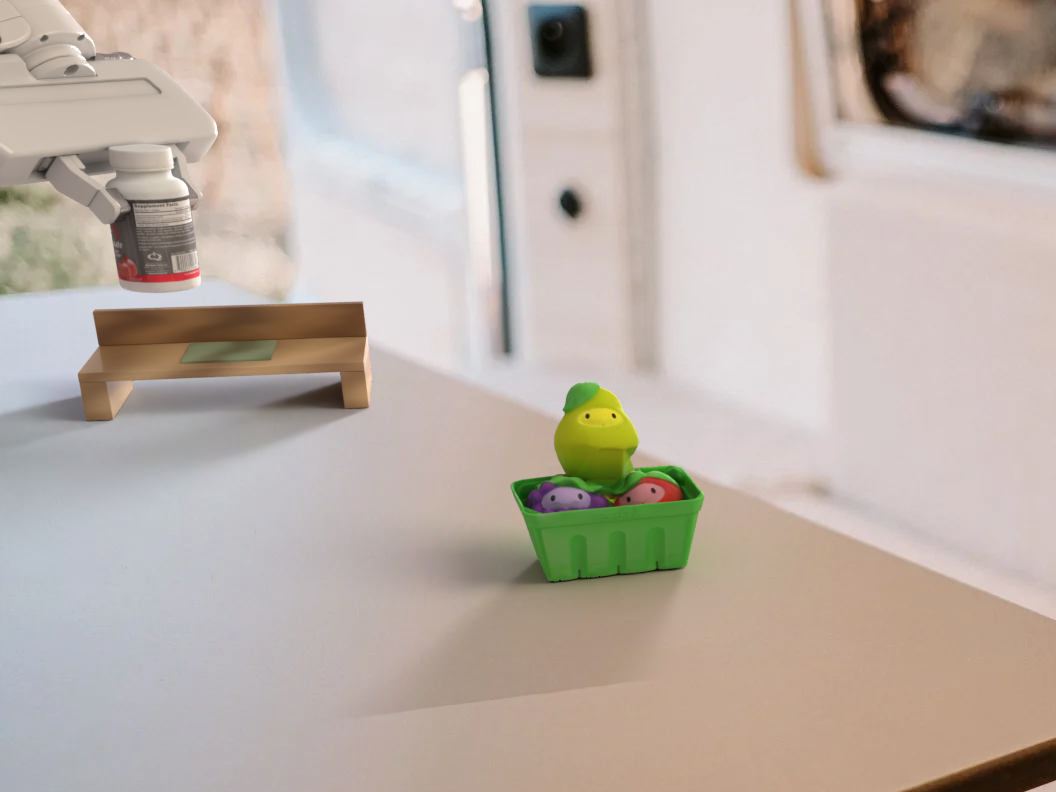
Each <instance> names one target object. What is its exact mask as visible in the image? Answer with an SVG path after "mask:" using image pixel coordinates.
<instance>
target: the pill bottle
mask: <svg viewBox="0 0 1056 792" xmlns="http://www.w3.org/2000/svg"><path fill="white" fill-rule="evenodd" d="M108 153H109V160H110V165H111V166H112V169H113V170H116V173H115V177H113V178H112V179H110V180H108V181H107V182H106V183H105V185H104V187H105V188H106V189H110V188H117V190H118V191H119V192H120V193H121V194H122V196H123V198H124V199H125V200H127V201H128V202H129V204H130V206H131V212H130V213H129V214H128V215H127V216H126V219H125V220H124V221H123V222H117V223H111V224H109V228H110V235H111V241H112V246H113V253H114V260H115V264H116V265H115V266H116V271H117V272H116V273H117V276H118V283H119V285H120V287H121V288H122V289H123V290H126V291H129V292H134V293H142V294H143V293H145V294H167V293H169V294H170V293H176V292H184V291H188V290H189V291H190V290H193V289H195V288H198V287H199V286H200V285H201V283H202V278H201V277H202V276H201V269H200V263H199V256H198V250H197V248H198V247H197V242H196V235H195V229H194V221H193V211H191V205H190V199H189V192H188V188H187V186H186V184H185V183H184V182H183V181H182V180H180V179H178V178H175V177H173V176H172V173H171V169H173V168H174V166H173V164H174V162H173V158H172V152H171V148H170V147H168V146H163V145H151V144H131V145H121V146H113V147H109V148H108Z"/></svg>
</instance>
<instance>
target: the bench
mask: <svg viewBox="0 0 1056 792" xmlns="http://www.w3.org/2000/svg"><path fill="white" fill-rule="evenodd" d="M92 317H93V322H94V327H95V332H96V338H97V344H98V347H97V348H96V349H95V351H93V353H92V354H91V356H90V357H89V358H88V360H87V361H86V362H85V363H84V365H83V366H82V367H81V369H80V370H79V371H78V372H77V378H78V383H79V388H80V394H81V400H82V404H83V410H84V415H85V420H86V422H93V421H95V422H96V421H113V420H114V419H115V417H116V416H117V414H118V413H119V411H120V409H121V408H122V406H123V405H124V403H125V401H126V400H127V398H128V397H129V396H130V394H131V392H132V390H133V389H134V382H135V381H156V380H178V379H179V380H180V379H205V378H227V377H252V376H253V377H254V376H279V375H298V374H299V375H300V374H301V375H303V374H324V373H325V374H326V373H339V375H340V383H341V391H342V399H343V406H344V409H365V408H367V409H368V408H370V403H371V402H370V401H371V393H370V392H371V391H372V383H371V381H372V382H373V372H372V364H371V354H370V347H369V339H368V337H369V336H368V329H367V322H366V321H367V320H366V313H365V304H364V301H362V300H361V301H334V302H300V303H299V302H298V303H295V302H294V303H267V304H264V303H263V304H234V305H233V304H231V305H230V304H229V305H202V306H201V305H198V306H196V305H195V306H166V307H165V306H163V307H133V308H132V307H129V308H102V309H101V308H99V309H94V310H93V311H92ZM133 381H134V382H133Z"/></svg>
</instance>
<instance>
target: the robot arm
mask: <svg viewBox="0 0 1056 792" xmlns="http://www.w3.org/2000/svg"><path fill="white" fill-rule="evenodd" d="M217 138H218V127H217V122H216V121H215V120H214V118H213V116H212V115H211V114H210V113H208V111H207V110H206V109H205V108H204V107H203V106H202V105H201V103H199V102H198V101H197V100H196V99H195V98H194V97H193V95H192V94H190V93H189V92H188V91H187V90H186V89H185V88H184V87H183V86H182V85H181V84H180V83H179V82H178V81H177V80H176V79H175V78H174V77H173V76H172V75H170V74H169V73H168V72H167V71H165V69H163V68H161V67H160V66H159V65H157V64H155V63H154V62H151V61H149V60H146V59H141V58H135V57H132V55H131V54H130V53H128V52H125V51H114V52H111V53H103V52H102V53H101V52H97V49H96V45H95V42H94V41H93V39H92V37H90V36H89V34H88V33H87V32H86V30H84V29H83V27H82V26H81V25H80V23H79V22H77V21H76V19H75V18H74V17H73V16H72V15H71V13H70V12H69V11H68V10H67V8H65V6H64V4H62V3H61V2H60V0H0V188H6V187H13V186H20V185H30V184H37V183H45V182H49V183H50V184H51V185H52V186H53V188H54V189H55V190H56V191H57V192H58V193H61V194H62V195H63V196H65V197H68V198H70V199H71V200H73V201H75V202H76V203H78V204H80V205H82V206H84V207H86V208H88V209H89V210H90V211H91V212H92V213H93V215H95V217H96V218H97V219H98V220H99V221H100V223H101V224H103V225H110V224H111V223H117V222H123V221H124V220H125V219H126V216H127V215H128V214H129V213H130V212H131V206H130V204H129V202H128V201H127V200H125V199H124V198H123V196H122V194H121V193H120V192H119V191H118V190H117V188H110V189H106V188H105V185H103V184H102V183H100V182H99V181H97V180H96V179H94V178H93V177H92V176H100V175H109V174H116V170H113V169H112V166H111V165H110V160H109V153H108V148H109V147H113V146H121V145H131V144H151V145H163V146H168V147H170V148H171V152H172V158H173V162H174V164H173V166H174V168H173V169H171V173H172V176H173V177H175V178H178V179H180V180H182V181H183V182H184V183H185V184H186V186H187V188H188V192H189V199H190V205H191V212H193V211H196V210H197V209H198V208H199V206H200V205H201V203H202V202H203V200H204V195H203V194H202V191H201V190H200V189H199V187H197V185H196V184H195V183H194V182H193V181H192V180H191V176H190V172H189V167H188V165H189V164H196V163H199V162H200V161H201V160H203V158H205V156H206V154H207V153H208V152H209V151H210V149H211V148H212V146H213V144H214V143H215V141H216V139H217Z"/></svg>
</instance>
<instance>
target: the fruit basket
mask: <svg viewBox="0 0 1056 792" xmlns="http://www.w3.org/2000/svg"><path fill="white" fill-rule="evenodd" d="M562 411H563V413H564V414H563V416H562V418H561V419H560V421H559V422H558V424H557V427H556V429H555V433H554V439H553V446H554V451H555V454H556V457H557V459H558V462H559V464H560V466H561V468H562V470H563V472H564V473H557V474H554V475H546V476H540V477H530V478H523V479H518V480H515V481H513V482H512V483H510V490H511V492H512V495H513V498H514V500H515V502H516V504H517V507H518V508H519V510H520V513H521V515H522V517H523V521H524V523H525V526H526V529H527V531H528V534H529V537H530V541H531V543H532V546H533V549H534V552H535V554H536V557H537V559H538V561H539V564H540V566H541V569H542V571H543V573H544V574H545V578H546V580H547V581H548V582H550V581H554V582H562V581H572V580H577V579H579V578H581V579H583V578H584V579H587V578H588V579H590V577H591V578H599V576H600V577H607V576H613V575H617V574H635V573H644V572H649V571H650V572H651V571H655V570H657V569H658V570H670V569H680V568H685V567H687V566H688V562H689V557H690V553H691V549H692V544H693V540H694V535H695V530H696V526H697V522H698V517H699V512H700V511H701V510H702V508H703V504H704V500H705V496H706V495H705V493H704V492H703V491H702V489H701V488H700V487H699V486H698V484H697V483H696V482H695V481H694V480H693V478H692V477H691V475H690V474H689V473H688V472H687V471H686V469H685V468H684V467H682V466H679V465H657V466H643V467H634V464H633V461H632V459H631V457H632V456H633V455H634V454H635V452H636V451H637V448H638V446H639V444H640V438H639V435H638V432H637V429H636V427H635V425H634V423H633V422H632V420H631V419H630V418H629V416H628V415H627V414H626V413H625V410H624V408H623V404H622V403H621V401H620V400H619V398H618V397H617V395H616V394H615V393H613V392H612V391H611V390H609V389H607V388H604V387H602V386H600V384H599V383H598V382H591V381H585V382H577V383H574V385H572V386H571V387H570V389H569V390H568V392H567V393H566V395H565V403H564V406H563V408H562ZM578 577H579V578H578ZM586 577H587V578H586ZM559 580H561V581H559Z"/></svg>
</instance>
